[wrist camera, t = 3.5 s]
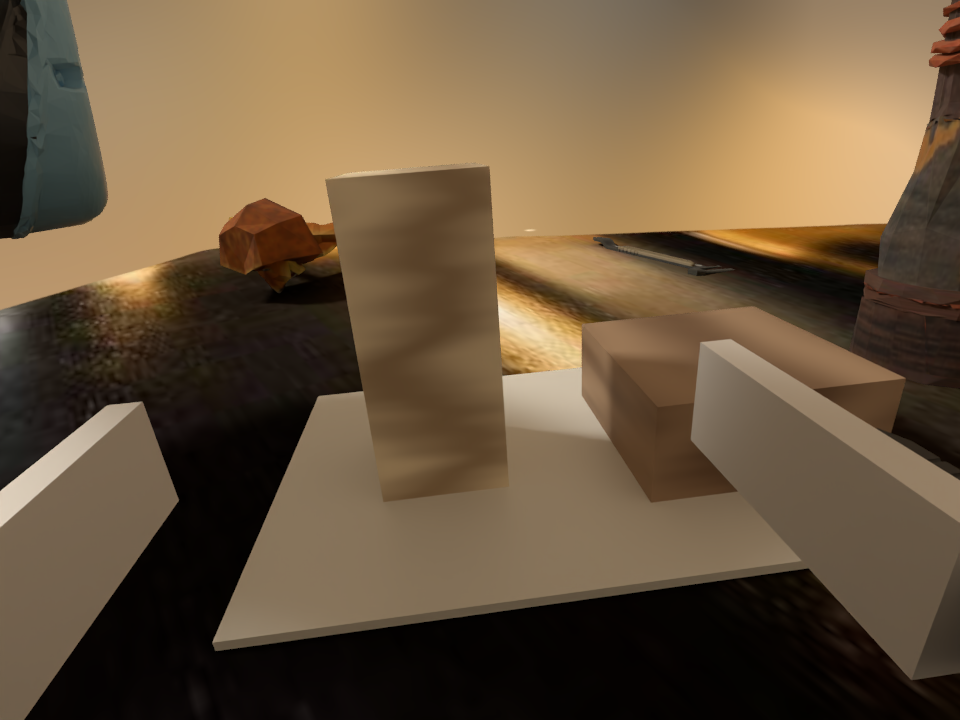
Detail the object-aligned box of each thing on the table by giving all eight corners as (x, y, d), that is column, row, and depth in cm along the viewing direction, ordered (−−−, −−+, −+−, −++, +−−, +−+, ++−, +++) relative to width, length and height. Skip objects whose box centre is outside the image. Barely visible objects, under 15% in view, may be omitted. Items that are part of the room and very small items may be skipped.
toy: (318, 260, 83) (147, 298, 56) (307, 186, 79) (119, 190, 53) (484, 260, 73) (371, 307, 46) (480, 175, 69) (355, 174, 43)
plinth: (650, 502, 19) (657, 407, 17) (581, 395, 27) (581, 324, 26) (879, 473, 19) (905, 378, 18) (743, 376, 28) (753, 306, 26)
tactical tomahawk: (751, 277, 51) (754, 266, 51) (697, 281, 49) (699, 270, 49) (629, 243, 69) (630, 235, 69) (586, 245, 67) (587, 237, 67)
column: (383, 502, 20) (325, 179, 15) (390, 436, 25) (348, 173, 20) (509, 486, 20) (489, 166, 16) (493, 424, 25) (474, 162, 20)
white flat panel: (215, 651, 15) (212, 642, 15) (319, 401, 30) (318, 396, 29) (1039, 535, 16) (1042, 527, 16) (748, 354, 31) (749, 349, 31)
